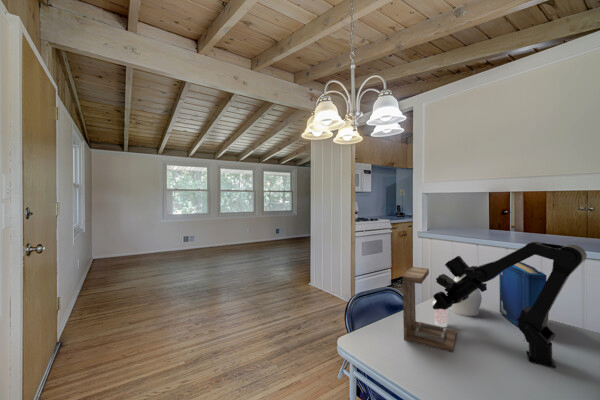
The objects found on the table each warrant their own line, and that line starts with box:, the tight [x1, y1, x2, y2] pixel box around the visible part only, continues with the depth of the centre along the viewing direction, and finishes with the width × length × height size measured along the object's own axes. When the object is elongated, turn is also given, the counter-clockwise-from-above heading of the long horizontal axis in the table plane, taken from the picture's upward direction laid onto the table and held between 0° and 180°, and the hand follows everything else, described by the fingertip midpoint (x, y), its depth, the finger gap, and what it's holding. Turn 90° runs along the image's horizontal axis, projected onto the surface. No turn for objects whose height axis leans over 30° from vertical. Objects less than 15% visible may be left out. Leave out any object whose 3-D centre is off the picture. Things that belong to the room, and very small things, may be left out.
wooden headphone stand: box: [402, 266, 457, 353], centre depth 103 cm, size 16×16×24 cm
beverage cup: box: [432, 300, 449, 328], centre depth 113 cm, size 6×6×14 cm
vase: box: [445, 274, 483, 317], centre depth 126 cm, size 14×14×20 cm
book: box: [498, 261, 547, 327], centre depth 111 cm, size 22×7×25 cm, turn 168°
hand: (437, 306), depth 114 cm, fingers closed on beverage cup, 6 cm apart
